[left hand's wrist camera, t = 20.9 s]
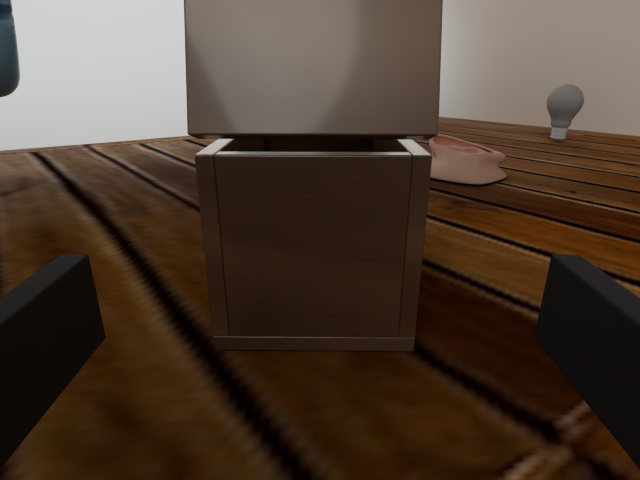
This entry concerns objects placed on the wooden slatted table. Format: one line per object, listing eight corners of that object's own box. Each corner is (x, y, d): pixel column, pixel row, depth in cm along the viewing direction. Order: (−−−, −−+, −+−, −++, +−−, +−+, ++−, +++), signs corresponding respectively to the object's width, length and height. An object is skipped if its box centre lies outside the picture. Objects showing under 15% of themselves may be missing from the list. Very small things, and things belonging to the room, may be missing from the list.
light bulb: (546, 142, 80) (556, 84, 77) (535, 137, 86) (545, 83, 82) (580, 143, 80) (593, 85, 76) (568, 138, 85) (579, 84, 82)
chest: (260, 232, 36) (254, 114, 33) (376, 232, 36) (382, 115, 33) (214, 350, 21) (193, 154, 18) (413, 351, 21) (432, 155, 18)
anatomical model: (509, 152, 48) (406, 145, 52) (503, 188, 49) (403, 178, 54) (513, 137, 59) (428, 132, 64) (508, 166, 61) (426, 159, 65)
